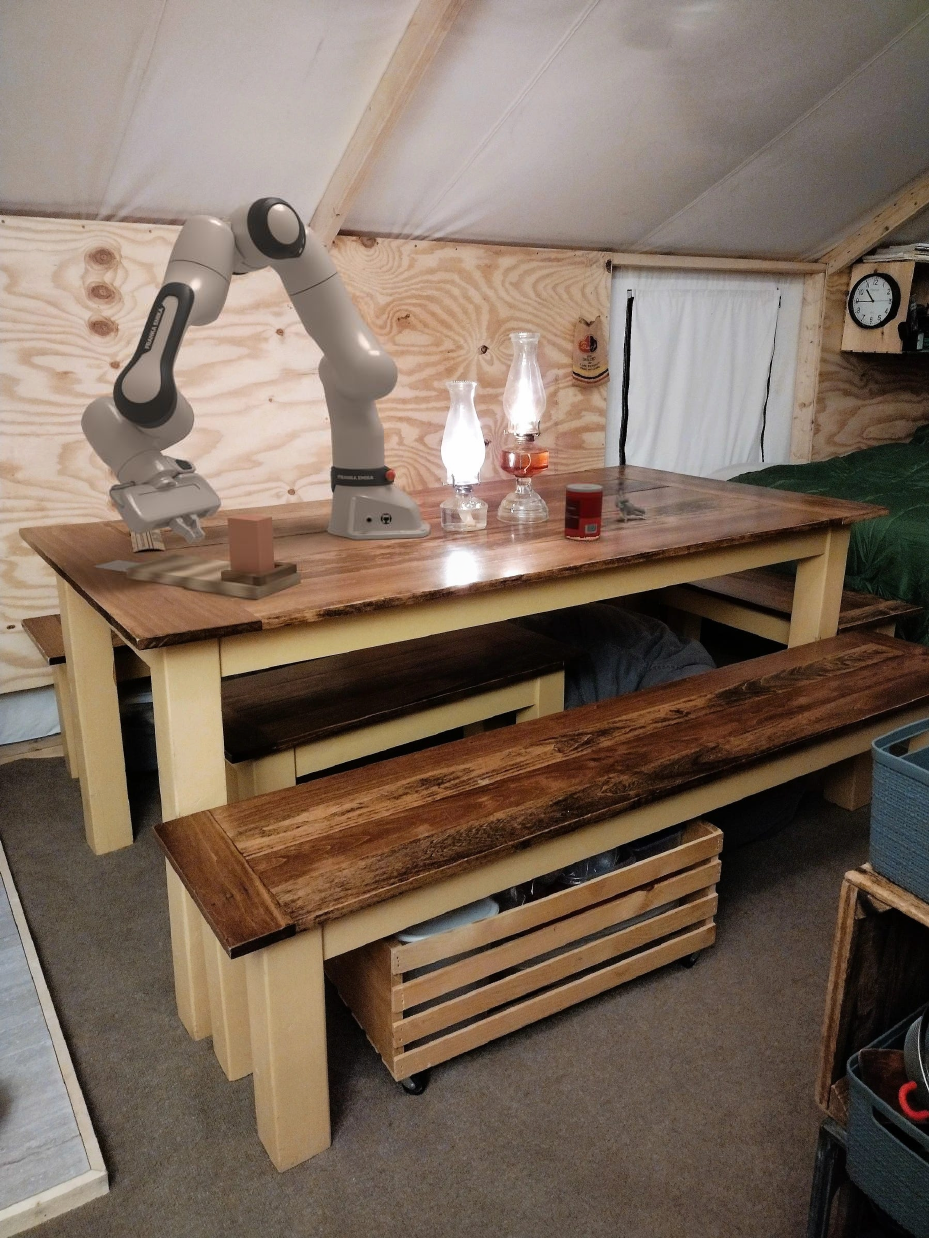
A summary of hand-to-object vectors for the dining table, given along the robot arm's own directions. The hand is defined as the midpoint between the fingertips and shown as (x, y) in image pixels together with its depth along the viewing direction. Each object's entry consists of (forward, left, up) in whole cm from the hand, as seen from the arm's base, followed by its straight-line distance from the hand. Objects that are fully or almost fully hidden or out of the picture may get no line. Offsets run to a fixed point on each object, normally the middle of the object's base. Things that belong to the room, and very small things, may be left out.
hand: (198, 540), depth 159 cm
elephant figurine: (-86, -57, -7) cm, 104 cm away
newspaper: (+18, -31, -8) cm, 37 cm away
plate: (+16, -8, -7) cm, 19 cm away
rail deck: (-2, +1, -7) cm, 7 cm away
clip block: (-10, +5, -5) cm, 12 cm away
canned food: (-72, -37, -7) cm, 82 cm away
